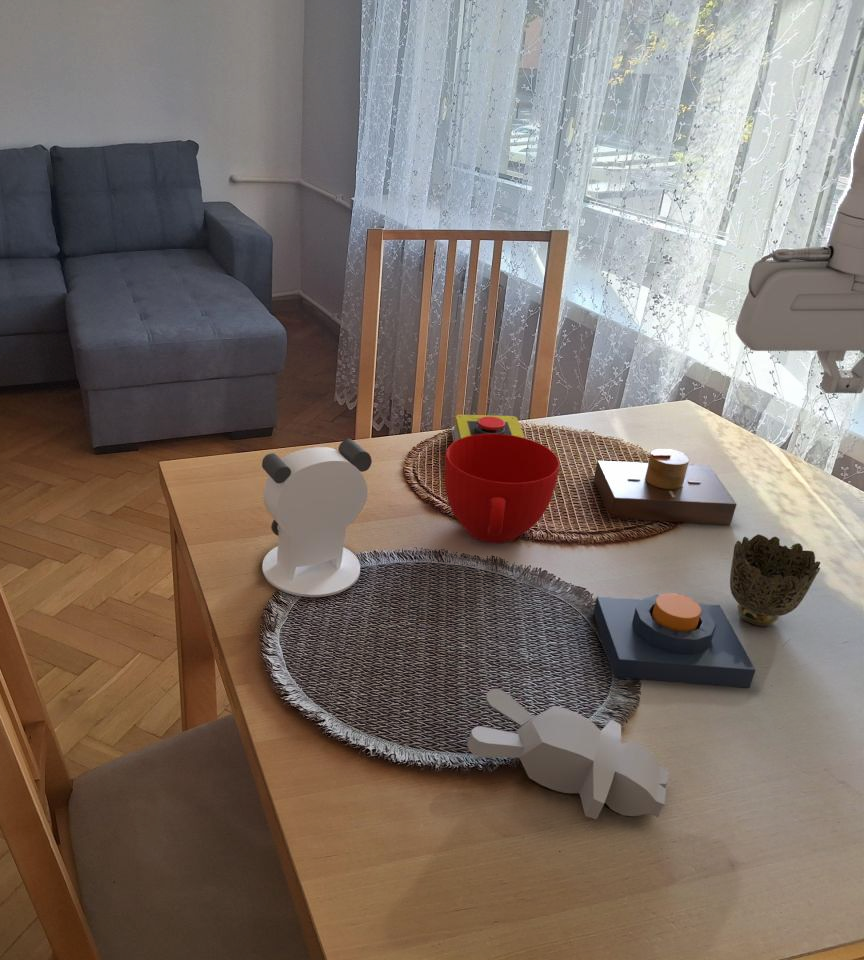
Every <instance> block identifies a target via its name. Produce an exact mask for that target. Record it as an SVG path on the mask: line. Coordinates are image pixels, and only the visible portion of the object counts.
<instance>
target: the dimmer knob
mask: <svg viewBox="0 0 864 960" xmlns="http://www.w3.org/2000/svg"><path fill="white" fill-rule="evenodd" d="M647 463H648V467H647V471H646V475H645V479H646V481H647V482H648V483H649V484H651V485H653V486H656V487H659V488H663V489H677V488H680V487H681V486H682V485H683V483H684V479H685V475H686V471H687V467H688V465H689V463H690V458H689V456H688V455H686V454H685V453H683V452H681V451H679V450H675V449H670V448H657V449H654V450H652V451H651V453H650V455H649V459H648V462H647Z"/></svg>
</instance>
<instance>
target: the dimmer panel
mask: <svg viewBox="0 0 864 960" xmlns="http://www.w3.org/2000/svg"><path fill="white" fill-rule="evenodd" d="M648 463H649V462H632V461H610V460H597V462H596V465H595V466H596V467H595V472H594V476H593V482H594V484H595V487H596V489H597V491H598V493H599V495H600V497H601V500H602V502H603V505H604V507H605V509H606V512H607V514H608V516H609V519H614V520H615V519H616V520H635V521H637V520H638V521H653V522H668V523H669V522H672V523H687V524H708V525H727V526H731V525H732V521H733V518H734V514H735V511H736V508H737V502H736V501H735V500H734V498H733V496H732V495H731V494H730V492H729V490H727V488H726V487H725V485H724V484H723V482H722V481H721V480H720V478H719V477H718V475H717V473H716V472H715V471H714V470H713V468H712V466H711V465H704V464H703V465H701V464H688V467H687V471H686V475H685V479H684V483H683V485H682V486H681V487H680V488H677V489H663V488H659V487H656V486H653V485H651V484H649V483H648V482H647V481H646V479H645V475H646V471H647V467H648Z"/></svg>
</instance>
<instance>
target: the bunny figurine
mask: <svg viewBox="0 0 864 960" xmlns="http://www.w3.org/2000/svg"><path fill="white" fill-rule="evenodd" d="M485 703H486V704H487V705H488V706H489V707H490V708H491V709H492V710H494V711H496V712H497V713H499V714H500V715H502V716H503V717H505V718H507V719H508V720H510V721H511V722H513V723H514V724H516V725H517V726H519V727H518V729H516V731H515V732H510V731H506V730H501V729H495V728H492V727H486V726H475V727H474V728H472V730H471V731H470V734H469V737H468V739H467V743H466V744H467V749H468V751H469V752H470V753H471V754H473V756H477V757H480V758H498V759H499V758H506V759H507V758H509V759H512V758H513V759H514V758H515V759H517V758H518V759H519V761H520V762H521V765H522V766H523V768H524V770H525V773H526V776H527V777H528V778H529V779H530V780H532V781H533V782H535V783H537V784H539V785H540V786H543V787H546V788H548V789H550V790H553V791H555V792H560V793H562V794H579V797H580V801H581V804H582V808H583V812H584V816H585V817H586V818H590V819H593V820H598V818H599V815H600V813H601V811H602V810H603V807H604V805H605V804H606V806H607V807H608V808H609V809H610V810H611V811H613V812H615V813H617V814H619V815H621V816H626V817H627V816H628V817H637V816H638V817H639V816H643V815H652V816H654V817H657V818H658V817H659V815H660V813H661V811H662V810H663V807H664V806H665V802H666V796H667V795H666V794H667V789H666V787H667V784H668V780H669V773H670V770H669V769H668V768H666V767H663V766H662V765H661V764H660V762H659V761H658V759H657V758H656V756H655V755H654V754H653V753H652V752H651V751H650V750H649V749H648V748H647V747H646V746H644V745H642V744H639V743H636V742H622V724H621V723H619V722H617V721H616V720H614V719H610V720H609V721H608V723H607V724H606V725H605V726H604V727H603V728H602V729H600V728H599V727H598V726H597V725H596V724H595V723H594V722H592V721H591V720H590V719H588V718H587V717H586V716H584V715H582V714H580V713H577V712H575V711H573V710H570V709H568V708H566V707H561V706H557V705H553V706H551V707H549V708H548V709H546V710H544V711H542V712H541V713H538V714H536V715H535V716H534V715H533V714H532V713H530V712H529V711H528V710H527V709H526V708H525V707H524V706H522V705H521V704H520V703H519V702H518V701H516V700H515V699H514V698H513V697H512V696H510V695H509V694H508V693H507V692H505V690H503V689H502V688H491V689H490V690H488V691H487V693H486V697H485Z"/></svg>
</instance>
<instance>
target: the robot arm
mask: <svg viewBox="0 0 864 960" xmlns="http://www.w3.org/2000/svg"><path fill="white" fill-rule="evenodd" d="M857 131H858V132H857V135H856V138H855V141H854V146H853V148H852V152H851V156H850V166H851V173H850V178H849V182H848V185H847V187H846V189H845V191H844V193H843V194H842V196H841V197H840V199H839V201H838V203H837V205H836V210H835V212H834V215H833V219H832V222H831V225H830V226H831V227H830V230H829V233H828V237H827V241H826V243H825V246H816V247H804V248H792V247H780V248H776V249H774V250H773V251H772V252H770V253H767V254H765V255H763V256H762V257H761V258H759V259H758V260H756V261H755V262H754V264H753V266H752V268H751V271H750V274H749V275H750V276H749V280H748V292H747V294H746V296H745V299H744V301H743V304H742V306H741V309H740V312H739V315H738V318H737V321H736V324H735V330H734V331H735V334H736V336H737V337H738V338H739V339H738V340H740V342H741V343H742V344H743V345H745V346H746V347H747V348H748V349H749V350H751V351H753V352H806V351H808V352H816V355H817V357H818V360H819V362H820V364H821V367H822V370H823V371H824V372H823V375H822V378H821V383H820V388H821V390H822V391H823V392H824V393H825V394H862V393H863V392H864V115H863V116H862V119H861V122H860V125H859V128H858V130H857ZM771 258H772V259H771ZM850 351H851V352H860V353H861V354H862V355H863V356H862V357H861V358H860V359H859V361H857V362H856V363H855V365H854V366H853V367H852V368H851V369H844V370H843V369H841V370H840V369H839V367H838V364H837V362H842V361H844V360H845V355H846V353H847V352H850Z"/></svg>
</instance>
